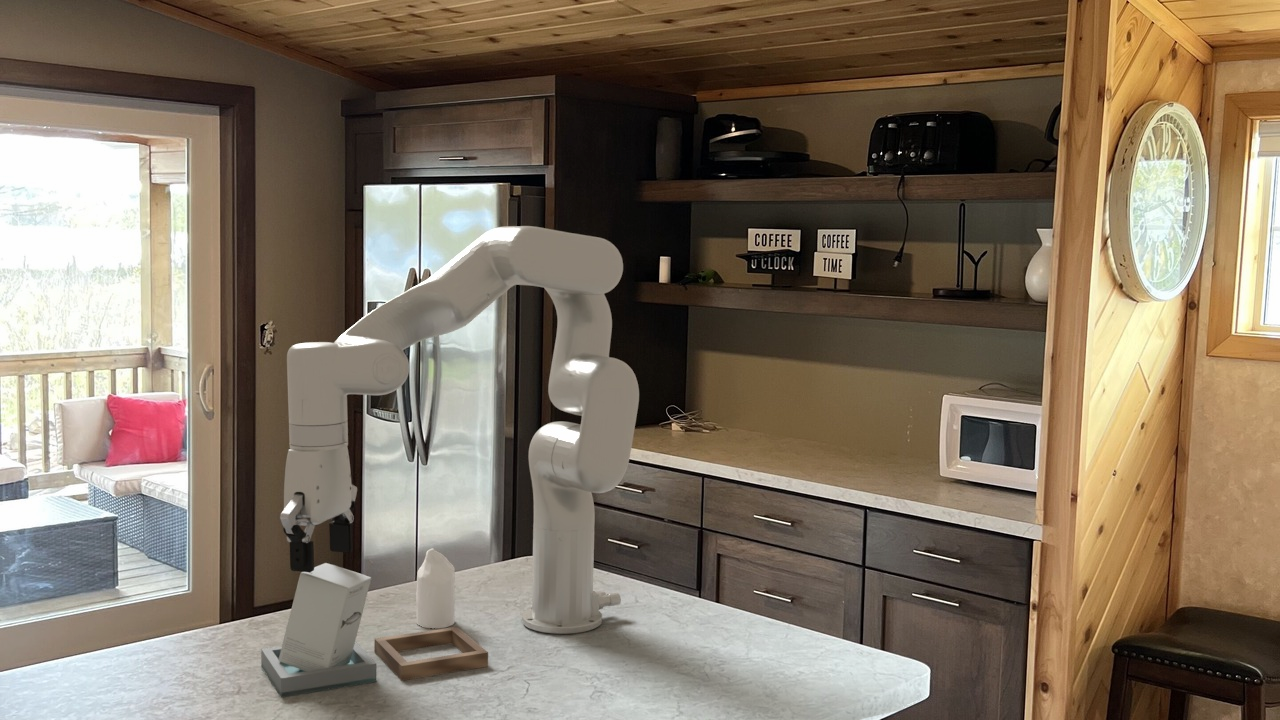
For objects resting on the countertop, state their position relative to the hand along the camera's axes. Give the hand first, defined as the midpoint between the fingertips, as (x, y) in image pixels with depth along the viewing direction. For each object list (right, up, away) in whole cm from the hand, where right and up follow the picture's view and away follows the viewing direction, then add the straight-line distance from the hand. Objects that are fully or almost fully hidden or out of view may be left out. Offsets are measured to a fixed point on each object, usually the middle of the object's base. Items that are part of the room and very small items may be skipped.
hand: (322, 560), depth 153 cm
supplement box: (-1, -14, +1) cm, 14 cm away
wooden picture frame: (+13, -15, +8) cm, 22 cm away
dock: (-1, -16, +1) cm, 16 cm away
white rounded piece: (+11, -14, +24) cm, 30 cm away
